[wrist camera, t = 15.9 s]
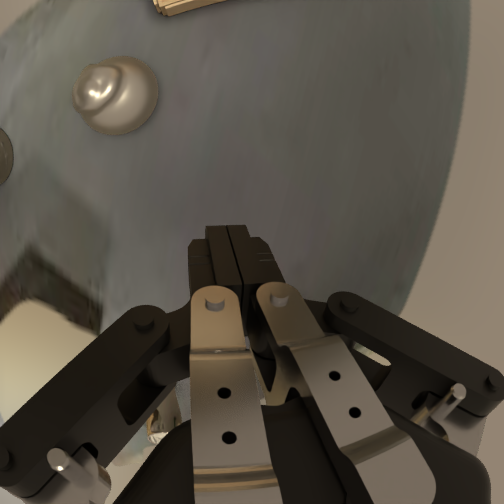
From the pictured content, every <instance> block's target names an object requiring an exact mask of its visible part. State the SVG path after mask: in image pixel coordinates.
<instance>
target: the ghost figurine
mask: <svg viewBox="0 0 504 504" xmlns="http://www.w3.org/2000/svg"><path fill="white" fill-rule="evenodd" d="M157 99H158V83H157V80H156V77H155V75H154V73H153V72H152V70H151V69H150V68H149V67H148V66H147V65H146V64H145V63H144V62H142V61H140V60H138V59H136V58H133V57H128V56H116V57H112V58H108V59H106V60H104V61H102V62H100V63H98V64H90V65H88V66H86V67H85V68H84V69H83V71H82V72H81V74H80V76H79V78H78V79H77V81H76V82H75V84H74V87H73V90H72V101H73V107H74V109H75V110H76V111H77V112H79V113H81V116H82V118H83V119H84V121H85V122H86V123H87V124H88V125H89V126H90V127H91V128H92V129H94V130H96V131H97V132H100V133H103V134H107V135H121V134H125V133H128V132H131V131H133V130H135V129H137V128H138V127H140V126H141V125H142V124H143V123H144V122H145V121H146V120H147V119H148V118H149V117H150V115H151V114H152V112H153V110H154V108H155V106H156V103H157Z"/></svg>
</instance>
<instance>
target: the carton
mask: <svg viewBox="0 0 504 504" xmlns="http://www.w3.org/2000/svg"><path fill="white" fill-rule="evenodd" d="M222 1H226V0H153V2H154V5H155V7H156V9H157V11H158V13H161V11H162V14H163V16H165V15H168V17H169V16H172V15H175V14H179V13H182V12H185V11H188V10H192V9H195V8H199V7H202V6H206V5H210V4H214V3H218V2H222ZM160 9H161V10H160Z"/></svg>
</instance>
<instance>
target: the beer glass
mask: <svg viewBox="0 0 504 504" xmlns="http://www.w3.org/2000/svg"><path fill="white" fill-rule="evenodd" d="M181 423H182V417H181V412H180V408H179V404H178V400H177V397H176V392H175V387H174V388H173V390H172V391H171V392H170V393H169V394H168V396H167V397H166V398H165V399H164V400H163V402H162V403H161V404H160V405H159V406H158V408H157V409H156V410H155V411H154V412H153V414H152V415H151V416H150V417H149V418H148V419H147V421H146V428H147V436H148V440H149V441H150V442H151V443H154V444H158V443H159V442H160V441H161V439H162V438H163V437H164V436H165V435H166V434H167V433H168V432H170V431H171V430H172V429H173V428H175V427H176V426H178V425H180V424H181Z"/></svg>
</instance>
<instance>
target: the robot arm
mask: <svg viewBox="0 0 504 504" xmlns="http://www.w3.org/2000/svg"><path fill="white" fill-rule="evenodd" d="M12 165H13V150H12V146H11V143H10V140H9V138H8V137H7V135H6V134H5V133H4V132H3V131H2V129H0V185H1V184H2V183H3V182H4V181H5V180H6V179H7V177H8V176H9V174H10V172H11V169H12ZM188 271H189V288H190V300H189V302H188V303H187V304H186V305H185V306H183V307H182V308H180V309H178V310H176V311H173V312H170V313H167V314H166V313H165V312H164V311H163V310H162V309H160V308H158V307H156V306H152V305H141V306H136V307H134V308H131V309H130V310H128V311H127V312H126V313H124V314H123V315H122V316H121V317H120V318H119V319H117V320H116V321H115V322H114V323H113V324H112V325H111V326H109V327H108V328H107V329H106V330H105V331H104V332H103V333H102V334H100V335H99V336H98V337H97V338H96V339H95V340H94V341H93V342H91V343H90V344H89V345H88V346H87V347H86V348H85V349H84V350H83V351H81V352H80V353H79V354H78V355H77V356H76V357H75V358H74V359H73V360H72V361H70V362H69V363H68V364H67V365H66V366H65V367H64V368H63V369H62V370H60V371H59V372H58V373H57V374H56V375H55V376H54V377H53V378H52V379H51V380H50V381H49V382H48V383H46V384H45V385H44V386H43V387H42V388H41V389H40V390H39V391H38V392H37V393H36V394H35V395H34V396H33V397H31V399H29V400H28V401H27V403H25V404H24V405H23V406H22V407H21V408H20V409H19V410H18V411H17V412H16V413H15V414H14V415H13V416H12V417H11V418H10V419H9V420H7V421H6V422H5V423H4V424H3V425H2V426H1V427H0V487H2V488H4V489H5V490H7V491H8V492H10V493H11V494H12V495H14V496H15V497H17V498H20V499H21V500H23V502H24V503H25V504H104V503H105V500H106V498H107V497H108V495H109V493H110V490H111V479H110V476H109V474H108V472H107V470H106V469H105V468H106V467H107V466H108V465H109V464H110V462H111V461H112V460H113V459H114V458H115V457H116V456H117V454H118V453H119V452H120V451H121V450H122V449H123V447H124V446H125V445H126V444H127V443H128V442H129V441H130V439H131V438H132V437H133V436H134V435H135V434H136V432H137V431H138V430H139V429H140V428H141V426H142V425H143V424H144V423H145V422H146V421H147V419H148V418H149V417H150V416H151V415H152V414H153V412H154V411H155V410H156V409H157V408H158V406H159V405H160V404H161V403H162V402H163V400H164V399H165V398H166V397H167V396H168V394H169V393H170V392H171V391H172V390H173V388H174V387H175V385H176V383H177V381H180V380H183V379H185V378H188V377H190V403H191V419H190V420H188V421H185V422H183V423H181V424H180V425H178V426H176V427H175V428H173V429H172V430H171V431H170V432H168V433H167V434H166V435H165V436H164V437H163V438H162V439H161V441H160V442H159V443H158V444H157V446H156V447H155V449H154V450H153V451H152V452H151V454H150V455H149V456H148V458H147V459H146V461H145V462H144V463H143V465H142V466H141V467H140V469H139V470H138V471H137V473H136V474H135V475H134V477H133V478H132V479H131V480H130V482H129V483H128V484H127V486H126V487H125V488H124V490H123V491H122V492H121V494H120V495H119V496H118V497H117V499H116V500H115V501H114V503H113V504H491V484H490V478H489V475H488V472H487V470H486V468H485V466H484V465H483V463H481V461H480V460H479V459H478V458H477V457H476V455H477V452H478V449H479V445H480V442H481V438H482V434H483V429H484V426H485V421H486V417H487V415H488V414H489V413H490V412H491V411H492V410H493V409H495V408H496V407H497V405H498V404H499V403H501V401H503V400H504V376H503V375H502V374H501V373H500V372H499V371H498V370H497V369H495V368H493V367H491V366H489V365H488V364H486V363H484V362H482V361H480V360H479V359H477V358H475V357H473V356H471V355H469V354H467V353H466V352H464V351H462V350H460V349H458V348H456V347H454V346H453V345H451V344H449V343H447V342H445V341H443V340H441V339H439V338H438V337H436V336H434V335H432V334H430V333H428V332H426V331H424V330H423V329H420V328H419V327H417V326H415V325H413V324H411V323H409V322H407V321H406V320H403V319H402V318H400V317H398V316H396V315H394V314H392V313H390V312H389V311H387V310H385V309H383V308H381V307H379V306H377V305H375V304H373V303H371V302H370V301H368V300H366V299H364V298H362V297H360V296H358V295H356V294H354V293H350V292H336V293H334V294H332V295H331V296H330V297H329V298H328V301H327V303H325V302H318V301H311V300H306V299H303V298H302V296H301V294H300V293H299V291H298V290H297V289H296V288H294V287H293V286H291V285H289V284H286V282H285V280H284V278H283V276H282V274H281V271H280V269H279V267H278V265H277V263H276V261H275V258H274V256H273V254H272V252H271V250H270V248H269V246H268V244H267V243H266V242H265V241H263V240H262V239H261V238H260V237H250V235H249V232H248V230H247V227H246V225H226V226H225V225H223V226H206V229H205V239H193V240H192V242H191V243H190V245H189V246H188ZM245 336H248V338H249V341H250V346H249V349H246V345H245V338H244V337H245ZM356 342H357V343H359V344H361V345H363V346H364V347H366V348H368V349H370V350H371V351H373V352H375V353H377V354H379V355H380V356H382V357H384V358H386V359H387V360H388V361H389V362H390V363H391V365H389V366H384V365H381V364H380V363H378V362H376V361H374V360H372V359H371V358H369V357H367V356H365V355H364V354H362V353H360V352H358V351H356V350H355V349H353V348H354V346H355V344H356ZM254 370H255V371H254ZM255 373H256V375H257V378H258V381H259V383H260V386H261V389H262V391H263V394H264V397H265V400H266V405H260V399H259V394H258V388H257V382H256V377H255Z"/></svg>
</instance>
